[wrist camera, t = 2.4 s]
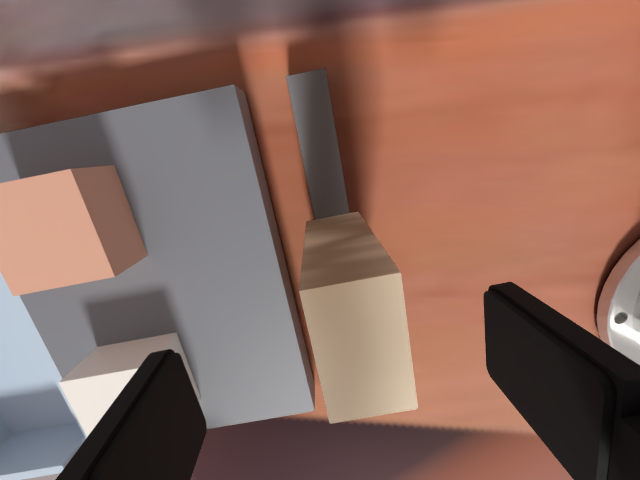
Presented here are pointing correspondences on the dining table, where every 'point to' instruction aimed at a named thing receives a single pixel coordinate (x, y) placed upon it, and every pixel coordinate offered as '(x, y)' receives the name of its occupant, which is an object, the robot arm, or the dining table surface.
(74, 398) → the tile cream
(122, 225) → the tile terracotta
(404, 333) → the scraper
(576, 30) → the dining table surface
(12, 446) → the box
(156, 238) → the board
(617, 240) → the dining table surface
